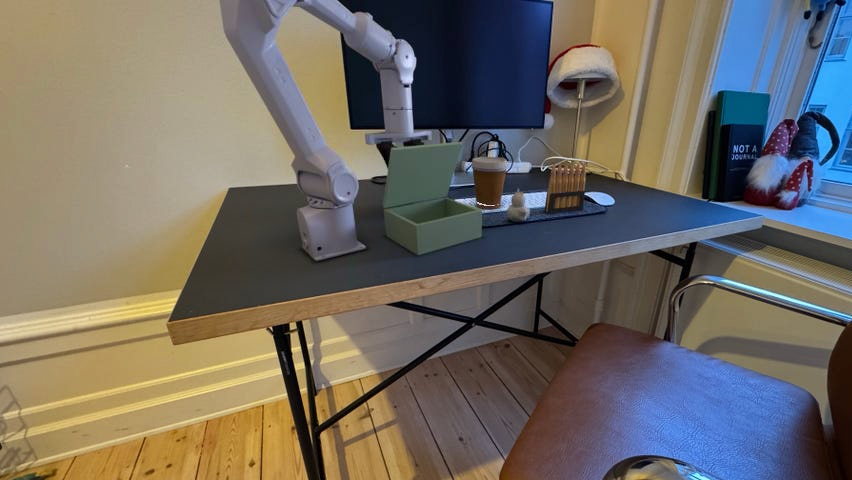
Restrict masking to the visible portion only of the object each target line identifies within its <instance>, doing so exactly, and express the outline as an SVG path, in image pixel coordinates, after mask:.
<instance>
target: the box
mask: <svg viewBox="0 0 852 480" xmlns="http://www.w3.org/2000/svg"><path fill="white" fill-rule="evenodd" d="M383 218H384V227H385V236H386V237H387V238H388V239H390V240H392V241H393V242H395V243H397V244H399V245H400V246H401V247H403V248H405V249H406V250H408V251H410V252H411V253H413V254H415V255H417V256H421V255H424V254H429V253H432V252H435V251H438V250H441V249H442V250H443V249H445V248H449V247H452V246H456V245H459V244H463V243H466V242H469V241H473V240H476V239H480V238H482V236H483V235H482V233H483V232H482V231H483V210H482V209H480V208H478V207H477V208H476V207H474V206H471V205H468V204H465V203H463V202H460V201H457V200H455V199H452V198H449V197H448V196H446V197H440V198H435V199H430V200H425V201H419V202H414V203H409V204H404V205H398V206H393V207H388V208H383Z"/></svg>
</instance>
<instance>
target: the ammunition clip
mask: <svg viewBox="0 0 852 480" xmlns="http://www.w3.org/2000/svg"><path fill="white" fill-rule="evenodd" d="M574 167H575V168H574ZM586 174H587V165H586V162H584V163H583V164H582V165H580V162H577V164H576V166H574V163H571V164H570V166H568V163H565V165H564V167H562V164H561V163H560V164H559V165H558V167H557V169H556V165H555V164H552V167H551V172H550V177H549V180H548V189H547V192H546V196H545V204H544V212H545V213H546V214H550V215H551V214H557V213H558V214H559V213H567V212H576V211H578V212H579V211H583V210H584V204H585V203H584V202H585V195H586V190H585V186H586Z"/></svg>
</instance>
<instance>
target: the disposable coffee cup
mask: <svg viewBox="0 0 852 480" xmlns="http://www.w3.org/2000/svg"><path fill="white" fill-rule="evenodd" d="M470 166H471V169H472V175H473V185H474V186H473V187H474V194H475V195H474V196H475V203H476V201H477V202H479V203H482V204H486V205H495V206H484V205H479V204H477V203H476V204H475V205H476V207H477V208H478V209H481V210H482V209H483V210H495V209H499V208H500V207H501V202H502V196H503V190H504V185H505V179H506V173H507V170H508V167H509V164H508V161H507V159H506V158H504V157H498V156H497V157H496V156H479V157H474V158H472V161H471V163H470ZM497 204H499V205H497Z"/></svg>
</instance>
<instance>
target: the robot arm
mask: <svg viewBox="0 0 852 480" xmlns="http://www.w3.org/2000/svg"><path fill="white" fill-rule="evenodd" d="M219 6H220V14H221V22H222V27H223V33H224V35H225V37H226V40H227V41H228V43H229V45H230V46H231V48H232V50H233V52H234V53H235V55H236V57H237V58H238V60H239V62H240V64H241V65H242V67H243V69H244V71H245V72H246V74H247V76H248V78H249V80H250V81H251V83H252V85H253V86H254V89H256V91H257V94H258V95H259V97H260V98H261V100H262V102H263V103H264V106H265V107H266V109H267V111H268V112H269V114H270V116H271V117H272V119H273V121H274V122H275V124H276V126H277V128H278V130H279V132H280V133H281V135H282V136H283V138H284V140H285V142H286V144H287V145H288V147H289V148H290V151H291V152H292V155H294V158H293V160H292V162H291V165H290V166H291V168H292V170H293V171H294V175H295V179H296V186H297V188H298V190H299V191H300V192H301V194H303V195H304V196H305V197H306V200H307V202H308V205H306V206H304V207H299V208H297V210H296V220H297V224H298V230H299V234H300V239H301V244H302V246H301V247H302V250H304V251H305V252H306V253H307V254H308V255H309V256H310V258H311V259H313V260H314V261H315V262H319V261H324V260H327V259H332V258H335V257H340V256H343V255H347V254H351V253H355V252H359V251H363V250H366V249H367V246H366V245H365V244H363V243H362V242H360V241H359V240H358V237H357V229H356V222H355V221H356V220H355V215H354V208H353V207H354V206H353V204H355V199H356V197H357V196H358V194H359V193H358V192H359V189H360V188H359V185H360V184H359V180H358V177H357V175H356V173H355V172H353V170H351V169H350V168H349V167H348V166H347V165H346V162H345V161H344V159H343V158H342V157H341V156H340V155H339V154H338V153H337V152H335V151H334V150H333V149H332V148H330V147H329V145H328V144H327V142H326V140H325V138H324V136H323V133H322V132H321V130H320V128H319V126H318V124H317V121H316V119H315V118H314V116H313V114H312V112H311V110H310V108H309V105H308V104H307V102H306V100H305V98H304V95H303V94H302V92H301V90H300V88H299V86H298V83H297V82H296V79H295V78H294V76H293V74H292V72H291V70H290V68H289V65H288V64H287V61H286V60H285V57H284V56H283V54H282V52H281V49H280V48H279V45H278V44H277V41H276V38H277V34H278V32H279V31H278V30H279V28H280V25H281V21H282V20H283V19H284V17H285V16H286V15H287V14H288V12H289V11H290V10H291V9H292V8H300V9H301V10H304V11H305V12H307V13H308V14H310V15H312V16H313V17H315V18H317V19H318V20H320V21H321V22H323V23H325V24H326V25H328V26H330V27H332V28H333V29H335V30H336V31H338V32H339V33H342V35H343V39H344V41H345V44H346V45H347V46H348V47H349V48H350V49H352V50H354V51H356V52H357V53H359V54H360V55H361V56H362V57H365V58H366V59H368V60H369V61H370V62H372V65H373V67H374V69H375V70H376V72H377V73H379V75H380V85H381V86H380V87H381V96H382V97H381V98H382V108H383V120H384V131H379V132H372V133H364V139H365V144H366V145H369V146H374V145H375V146H376V149H377V150H378V152H379V154H380V156H381V157H382V160H383V161H384V164H385V166H386V168H387V170H388V166H389V160H390V153H391V148H396V147H398V146H397V145H395V144H396V143H402V145H403V147H408V146H419V145H425V142H423V141H432V140H433V138H432V137H433V136H432V133H433V132H432V130H428V129H424V130H423V129H421V130H420V129H419V130H414V118H413V117H414V116H413V100H412V99H413V98H412V84H413V81H414V71H415V69H416V67H417V57H416V56H415V53H414V49H413V47H412V46H411V45H410V43H408V41H406V40H405V39H402V38H399V39H396V38H395V37H394V35H393V34H392V32H391V31H390V30H388V29H385V28H384V27H382V26H381V25H379V23H377V22H376V21H375V20H373V15H371V14H370V13H369V12H362V11H357V12H354V13H353V12H351V11H350V10H349V9H348V8H347V7H346V6H344V5H343V4H342V2H340V1H339V0H219ZM394 143H395V144H394Z"/></svg>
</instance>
